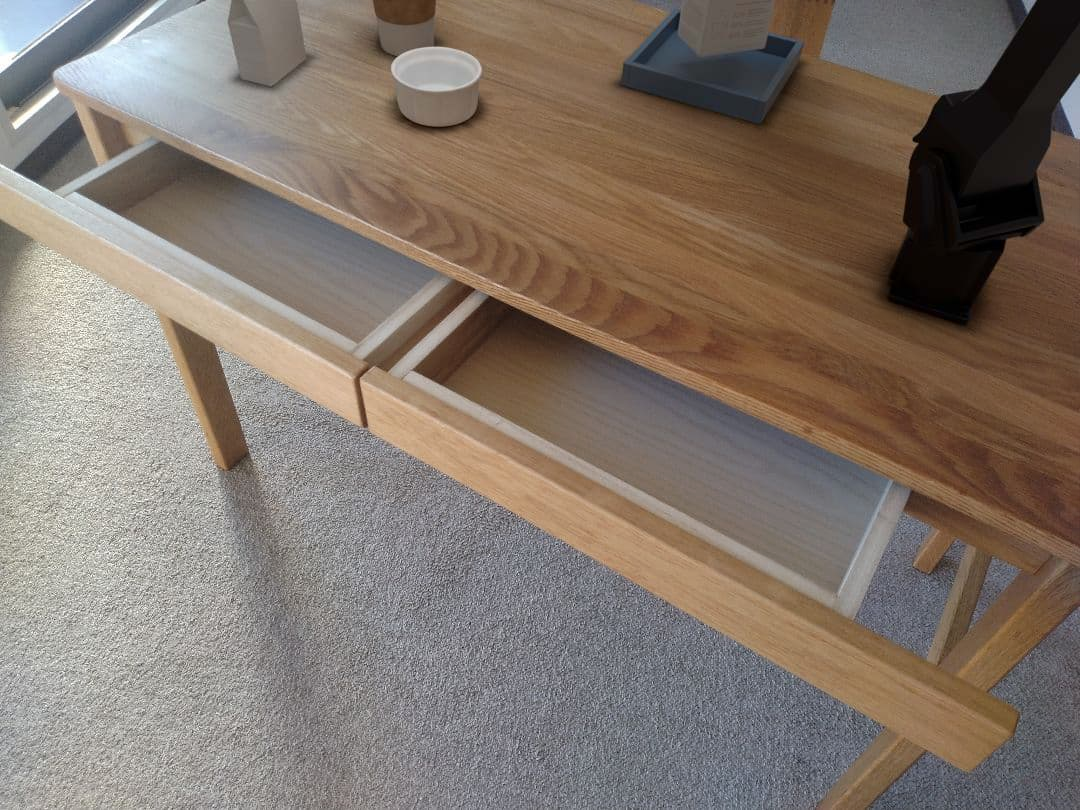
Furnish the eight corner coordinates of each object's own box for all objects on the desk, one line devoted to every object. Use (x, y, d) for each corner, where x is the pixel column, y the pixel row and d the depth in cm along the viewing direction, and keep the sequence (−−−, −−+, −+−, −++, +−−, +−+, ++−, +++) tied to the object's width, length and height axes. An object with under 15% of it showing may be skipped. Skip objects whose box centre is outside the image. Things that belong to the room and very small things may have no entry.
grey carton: (306, 58, 91) (290, -39, 83) (271, 86, 86) (250, -14, 79) (277, 51, 91) (258, -46, 84) (240, 78, 87) (217, -22, 80)
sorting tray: (798, 62, 95) (805, 41, 94) (760, 124, 86) (766, 102, 84) (670, 29, 100) (674, 8, 98) (620, 85, 90) (623, 62, 88)
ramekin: (489, 91, 88) (489, 51, 85) (472, 136, 82) (471, 94, 79) (406, 82, 88) (403, 41, 85) (384, 125, 82) (379, 83, 79)
